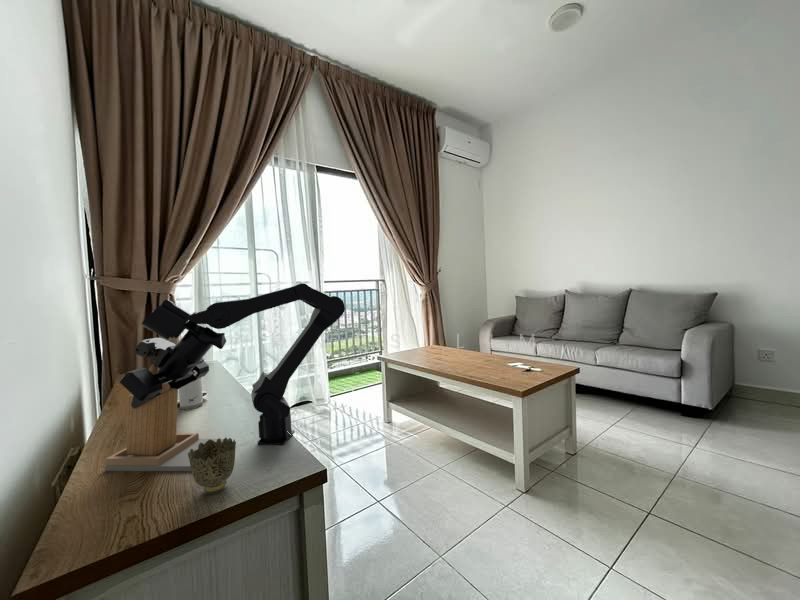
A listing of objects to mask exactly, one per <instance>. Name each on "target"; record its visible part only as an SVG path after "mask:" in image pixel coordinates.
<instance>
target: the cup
mask: <svg viewBox="0 0 800 600" xmlns="http://www.w3.org/2000/svg"><path fill="white" fill-rule="evenodd" d="M208 439H209V440H208V441H207V442H206V443H205V444H203V443H199V445H198V450H195V451H194V450H193V449H190V452H189V453H188V456H189V461H190V466H191V470H192V471H191V475H192V478H193V479H194V482H195V483H196V484H197V485H199V486H200V487H203V488H202V489H203V492H204V493H205V495H215V494H219V493H220V492H222V491H224V490H225V488H226V486H227V482H228V481H227V480H228V479H229V478H230V477H231V475H232V473H233V471H234V468H235V460H236V444H237V441H236V439H232V438H231V437H229V438H227V437H225V438H223V439H224V440H223V441H221V439H222V438H220V437H219V438H216V439H217V442H214V441H213V440H210V439H211V438H208ZM228 439H229V440H228ZM231 439H232V440H231Z"/></svg>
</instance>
